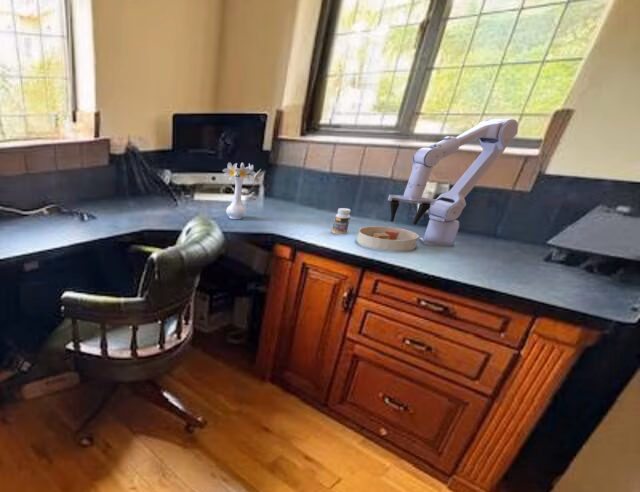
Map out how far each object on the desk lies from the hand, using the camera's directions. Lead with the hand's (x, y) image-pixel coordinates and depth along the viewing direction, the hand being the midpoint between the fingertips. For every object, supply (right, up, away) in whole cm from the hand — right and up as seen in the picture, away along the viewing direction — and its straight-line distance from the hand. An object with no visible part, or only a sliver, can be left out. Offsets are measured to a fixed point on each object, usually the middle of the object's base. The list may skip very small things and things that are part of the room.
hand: (403, 222), depth 156 cm
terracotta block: (-1, -5, +7) cm, 9 cm away
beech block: (-7, -8, +3) cm, 11 cm away
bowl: (-4, -7, +5) cm, 9 cm away
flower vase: (-50, +15, +48) cm, 71 cm away
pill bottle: (-14, +1, +20) cm, 25 cm away
